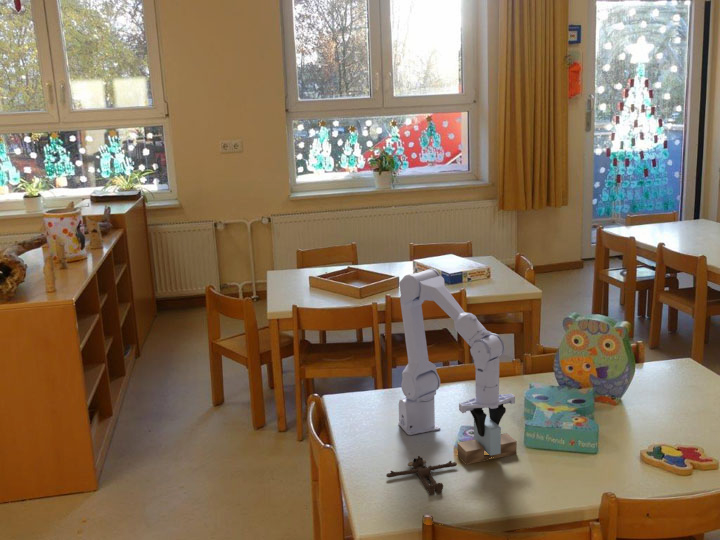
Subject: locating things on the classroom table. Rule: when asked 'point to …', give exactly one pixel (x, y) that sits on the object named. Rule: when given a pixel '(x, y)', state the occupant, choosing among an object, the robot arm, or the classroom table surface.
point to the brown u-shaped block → (475, 451)
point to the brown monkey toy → (424, 474)
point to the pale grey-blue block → (489, 437)
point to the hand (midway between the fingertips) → (487, 433)
